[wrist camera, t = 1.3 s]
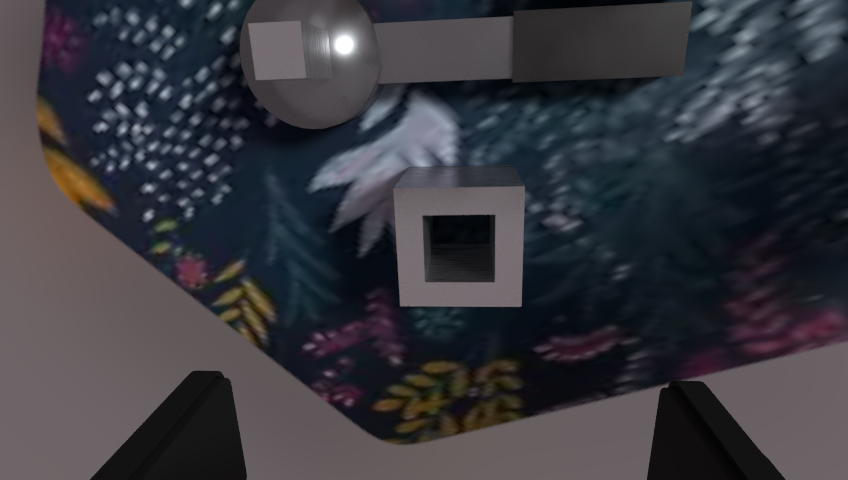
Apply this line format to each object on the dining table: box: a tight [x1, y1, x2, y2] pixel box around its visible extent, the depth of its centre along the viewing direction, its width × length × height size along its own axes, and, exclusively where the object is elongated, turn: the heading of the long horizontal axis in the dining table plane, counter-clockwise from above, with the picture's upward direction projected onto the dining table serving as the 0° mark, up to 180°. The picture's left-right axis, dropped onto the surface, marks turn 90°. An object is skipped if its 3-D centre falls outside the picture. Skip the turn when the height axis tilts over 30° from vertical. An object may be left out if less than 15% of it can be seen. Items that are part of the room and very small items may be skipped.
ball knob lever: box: [240, 0, 692, 129], centre depth 22 cm, size 22×7×7 cm, turn 92°
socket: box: [393, 165, 525, 307], centre depth 25 cm, size 6×6×6 cm
